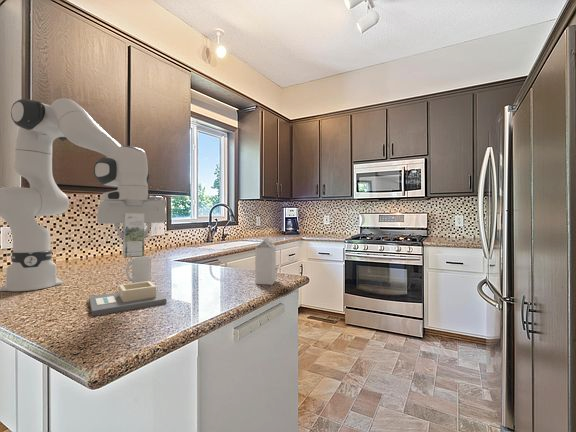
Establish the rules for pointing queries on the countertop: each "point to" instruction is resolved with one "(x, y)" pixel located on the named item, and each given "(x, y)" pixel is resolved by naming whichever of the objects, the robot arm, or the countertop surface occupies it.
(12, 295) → the countertop surface
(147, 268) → the mug
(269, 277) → the milk carton
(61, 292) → the countertop surface
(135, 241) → the syrup box
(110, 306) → the holder board
